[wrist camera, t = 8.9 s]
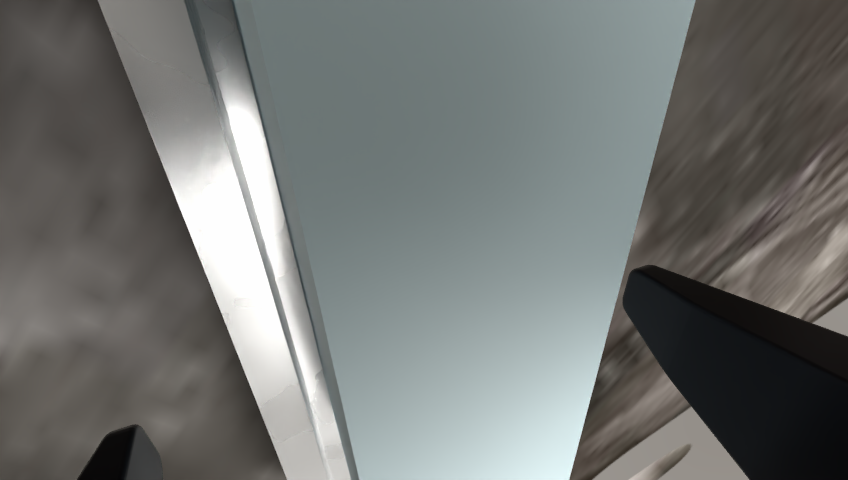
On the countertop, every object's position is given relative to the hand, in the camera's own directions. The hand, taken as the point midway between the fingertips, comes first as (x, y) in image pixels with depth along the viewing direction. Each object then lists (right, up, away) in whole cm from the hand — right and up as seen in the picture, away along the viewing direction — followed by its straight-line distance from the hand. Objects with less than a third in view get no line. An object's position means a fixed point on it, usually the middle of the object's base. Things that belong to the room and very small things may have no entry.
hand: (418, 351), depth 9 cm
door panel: (-2, +3, +4) cm, 5 cm away
